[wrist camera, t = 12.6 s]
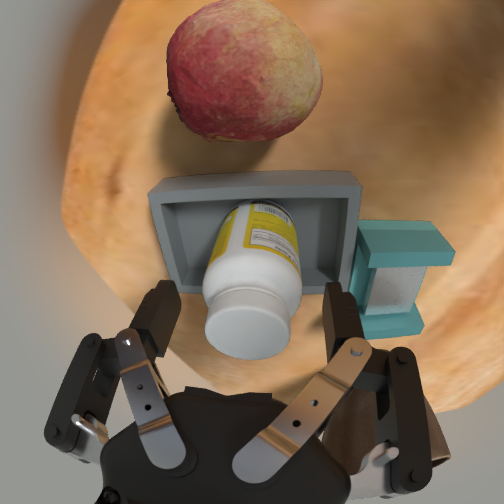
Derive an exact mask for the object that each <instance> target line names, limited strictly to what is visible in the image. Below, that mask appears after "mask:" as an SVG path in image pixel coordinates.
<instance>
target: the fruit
mask: <svg viewBox="0 0 504 504" xmlns="http://www.w3.org/2000/svg"><path fill="white" fill-rule="evenodd" d="M166 62H167V77H168V89H169V91H168V93H167V95H168V96H170V97H172V98H171V101H172V102H173V103H175V105H174V106H175V107H176V108H177V109H176V111H177V113H178V114H179V118H180V120H181V122H183V123H184V124H185V125H186V127H187V128H188V129H190V130H191V131H193V132H194V133H197V134H199V135H202V136H203V137H204V139H205V140H207V141H209V142H210V141H225V142H234V141H248V142H255V141H264V140H271V139H274V138H278V137H281V136H283V135H285V134H287V133H289V132H291V131H293V130H294V129H295V128H296V127H297V126H299V125H300V124H301V123H302V122H303V121H304V120H305V119H306V118H307V117H308V116H309V114H310V113H311V111H312V110H313V108H314V107H315V105H316V104H317V102H318V100H319V97H320V94H321V91H322V85H323V77H322V69H321V67H320V65H319V63H318V59H317V57H316V55H315V52H314V50H313V47H312V45H311V43H310V41H309V39H308V38H307V37H306V35H305V34H304V33H303V32H302V31H301V30H300V29H299V27H298V26H297V25H296V24H295V23H294V22H293V21H292V20H290V19H289V18H288V17H287V16H286V15H285V14H284V13H282V12H281V11H280V10H279V9H278V8H276V7H275V6H273V5H271V4H269V3H267V2H265V1H262V0H221V1H218V2H214V3H211V4H208V5H206V6H204V7H202V8H201V9H200V10H198V11H197V12H196V13H194V14H193V15H191V16H188V17H187V19H186V20H185V21H184V22H182V23H181V24H180V25H179V26H178V28H177V29H176V31H175V33H174V34H173V36H172V37H171V39H170V41H169V44H168V47H167V60H166Z"/></svg>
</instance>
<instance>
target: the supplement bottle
mask: <svg viewBox="0 0 504 504" xmlns="http://www.w3.org/2000/svg"><path fill="white" fill-rule="evenodd" d="M202 291H203V297H204V300H205V302H206V304H207V306H208V308H209V309H208V314H207V319H206V323H205V335H206V338H207V340H208V341H209V343H210V344H211V345H212V346H213V347H214V348H215V349H217V350H218V351H220V352H221V353H223V354H225V355H228V356H230V357H234V358H238V359H244V360H260V359H266V358H269V357H272V356H275V355H277V354H278V353H280V352H281V351H282V350H284V349H285V347H286V346H287V345H288V343H289V340H290V321H291V319H290V318H291V317H292V316H293V315H294V314H295V312H296V311H297V309H298V307H299V305H300V302H301V298H302V279H301V270H300V261H299V252H298V243H297V235H296V228H295V225H294V222H293V220H292V217H291V216H290V214H289V213H288V212H287V211H286V210H285V209H284V208H283V207H282V206H280V205H279V204H277V203H275V202H273V201H270V200H266V199H250V200H246V201H243V202H241V203H239V204H237V205H236V206H234V207H233V208H232V209H231V210H230V211H229V212H228V213H227V215H226V217H225V219H224V221H223V223H222V226H221V229H220V232H219V235H218V238H217V240H216V243H215V246H214V249H213V252H212V255H211V258H210V260H209V263H208V266H207V269H206V272H205V276H204V280H203V286H202Z"/></svg>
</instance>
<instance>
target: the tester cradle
mask: <svg viewBox="0 0 504 504" xmlns="http://www.w3.org/2000/svg"><path fill="white" fill-rule="evenodd" d="M454 255H455V250H454V249H453V248H452V247H451V245H450V244H449V243H448V242H447V240H446V239H445V238H444V237H443V236H442V234H441V233H440V232H439V231H438V230H437V228H436V227H435V226H434V225H433V224H432V223H431V222H429V221H397V220H358V227H357V234H356V241H355V248H354V254H353V260H352V266H351V272H350V278H349V283H348V288H347V292H350V293H351V294H352V295H353V296H354V297H355V299H356V302H357V306H358V310H359V315H360V318H361V323H362V327H363V331H364V336H365V339H366V340H371V339H382V338H392V337H401V336H410V335H417V334H420V333H421V331H422V329H423V327H424V326H425V325H424V323H423V320H422V318H421V316H420V314H419V311H418V309H417V307H416V305H415V300H414V302H413V305H412V307H411V310H410V312H403V313H391V314H377V315H364V311H363V308H362V306H363V303H364V299H365V295H366V291H367V287H368V283H369V279H370V274H371V270H372V268H391V267H422V266H448V265H451V263H452V261H453V258H454ZM426 269H427V267H426ZM425 272H426V270H425ZM424 275H425V273H424ZM423 278H424V276H423ZM423 278H422V281H423ZM422 281H421V283H422ZM420 286H421V284H420ZM419 289H420V287H419ZM419 289H418V291H419ZM417 294H418V292H417ZM416 297H417V295H416ZM416 297H415V299H416Z"/></svg>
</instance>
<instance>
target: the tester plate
mask: <svg viewBox="0 0 504 504" xmlns="http://www.w3.org/2000/svg"><path fill="white" fill-rule="evenodd" d="M426 267H427V266H422V267H391V268H372V270H371V274H370V279H369V283H368V287H367V291H366V295H365V299H364V303H363V306H362V308H363V311H364V315H377V314H391V313H403V312H410V310H411V307H412V305H413V302H414V300H415V297H416V295H417V292H418V289H419V287H420V284H421V281H422V278H423V276H424V273H425V270H426Z"/></svg>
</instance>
